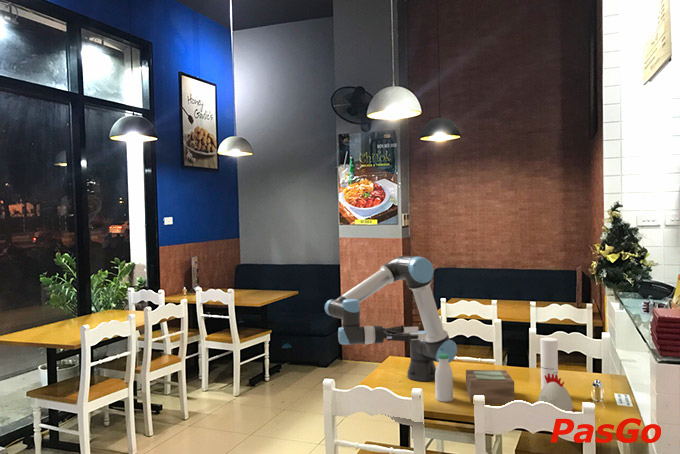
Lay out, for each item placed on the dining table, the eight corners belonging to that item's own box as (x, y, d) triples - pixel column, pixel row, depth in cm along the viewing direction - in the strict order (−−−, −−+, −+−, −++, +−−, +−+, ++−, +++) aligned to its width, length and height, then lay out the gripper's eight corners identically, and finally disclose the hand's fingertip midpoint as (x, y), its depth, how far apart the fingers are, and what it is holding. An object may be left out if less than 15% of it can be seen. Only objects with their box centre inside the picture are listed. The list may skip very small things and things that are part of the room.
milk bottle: (453, 402, 237) (452, 356, 237) (435, 401, 239) (434, 356, 238) (453, 396, 245) (452, 352, 244) (435, 396, 246) (434, 351, 246)
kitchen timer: (547, 402, 235) (547, 367, 235) (579, 410, 225) (578, 373, 224) (531, 410, 226) (530, 374, 225) (563, 419, 215) (562, 381, 215)
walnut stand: (466, 390, 252) (465, 369, 252) (506, 390, 250) (505, 369, 250) (471, 404, 234) (471, 381, 234) (514, 404, 233) (514, 381, 232)
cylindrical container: (539, 392, 247) (538, 337, 247) (554, 392, 247) (554, 337, 247) (544, 397, 240) (543, 341, 240) (560, 397, 240) (559, 340, 239)
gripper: (370, 337, 251) (415, 335, 253) (378, 350, 226) (428, 348, 228) (369, 320, 251) (415, 319, 252) (377, 332, 226) (428, 330, 228)
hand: (421, 332), depth 240 cm, fingers open, 13 cm apart
